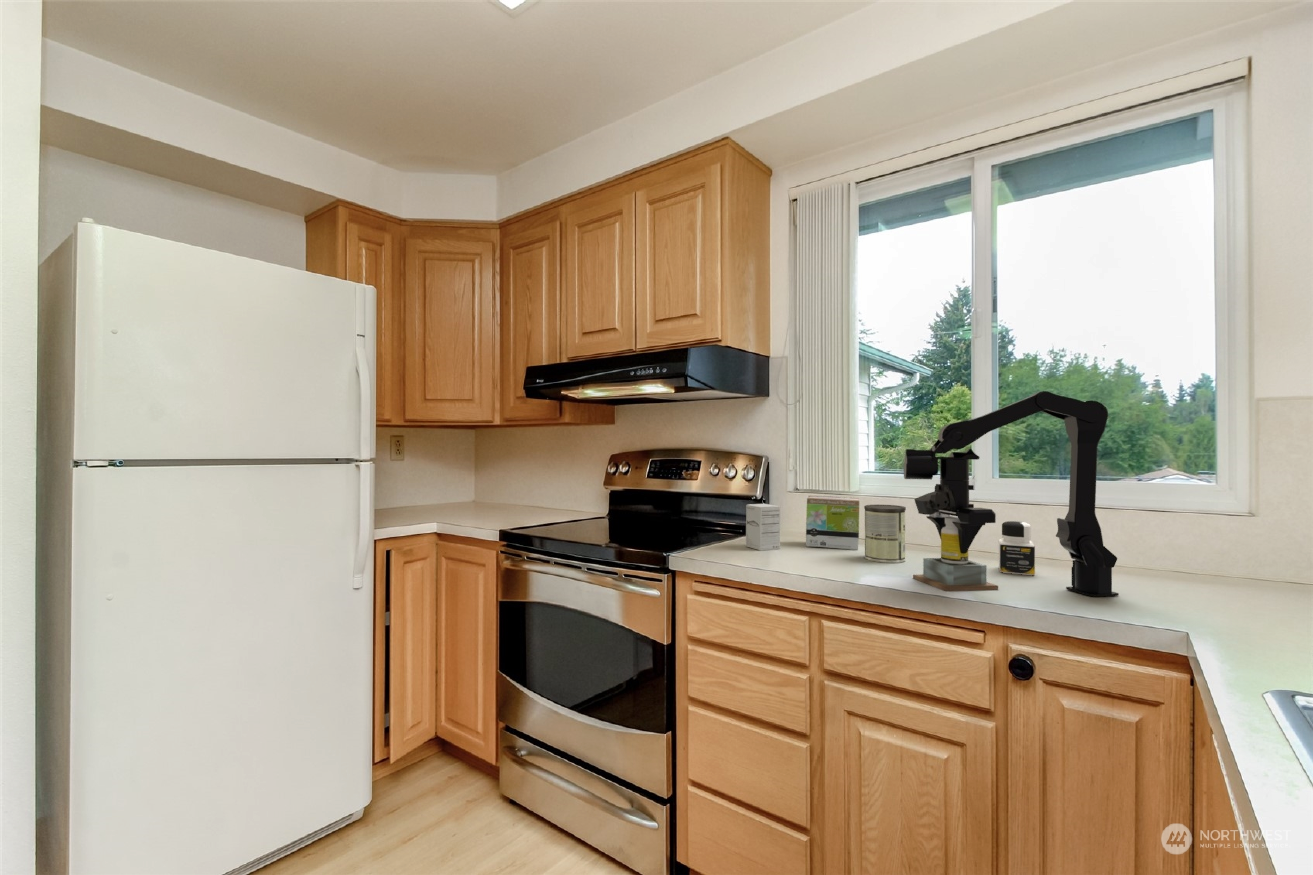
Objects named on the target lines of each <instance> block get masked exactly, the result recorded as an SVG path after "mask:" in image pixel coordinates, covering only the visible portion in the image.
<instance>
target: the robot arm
mask: <svg viewBox="0 0 1313 875" xmlns="http://www.w3.org/2000/svg"><path fill="white" fill-rule="evenodd" d="M1039 412H1042V413H1045V414H1047V415H1049V416H1050V417H1053V418H1055V419H1060V420H1062V421H1064V425H1065V426H1064V427H1065V431H1066V434H1067V437H1068V439H1069V442H1070V447H1071V448H1070V469H1069V494H1068V496H1069V498H1068V499H1069V500H1068V511H1067V513H1066V515H1065V518H1060V517H1058V518H1056V523H1057V532H1056V534H1055V537H1056V538H1058V539H1059V544H1060V545H1061V546H1062V548H1063V549H1065V550H1066V551H1067V552H1068V554H1069V556H1070V558H1071V559H1072V566H1071V586H1066V587H1065V589H1066V590H1067V591H1071V592H1075V593H1078V594H1082V595H1086V596H1089V597H1116V596H1117V597H1118V596H1119V592H1115V591H1113V584H1112V582H1113V581H1112V580H1113V573H1112V572H1113V568H1114V567H1115V565H1116V563H1117V561H1118V557H1117V556H1116V555H1115V554H1114V553H1113V552H1112V551H1110V550H1109V549H1108V548H1107V547H1106V546H1104V540H1103V534H1102V528H1101V526H1100V523H1099V520H1098V518H1097V516H1096V499H1097V498H1096V497H1097V496H1096V494H1097V473H1098V472H1097V468H1098V446H1099V443H1100V442H1101V439H1102V437H1103V435H1104V433H1105V430H1106V426H1107V422H1108V418H1109V410H1108V408H1107V407H1106V406H1105V404H1103V403H1101V402H1099V401H1097V400H1084V401H1083V400H1080V399H1076V398H1071V397H1068V396H1063V395H1059V394H1056V393H1053V392H1051V391H1048V390H1042V391H1041V390H1040V391H1038V392H1034V393H1032V394H1031V395H1030V396H1027V397H1025V398H1022V399H1020V400H1018V401H1015V402H1013V403H1010V404H1008V405H1005V406H1003V407H1000V408H998V409H995V410H993V411H991V412H988V413H986V414H984V415H981V416H979V417H974V418H970V419H965V420H961V421H956V422H951V423H948V424H947V423H946V424H945V425H944V426H942V427H941V428H940V429H939V432H938V436H937V438H938V439H937V440H936V441H935V443H934V444H933V445H931V447H930V449H912V448H905V450H904V453H905V454H904V462H903V464H902V467H903V468H902V469H903V471H902V472H903V478H904V480H932V479H933V478H934V476H937V475H938V474H939V483H936V484H935V485H934V491H932V492H927V493H925V494H923V495H921V496H918V497H916V498H914V504H915V506H916V509H917V512H918V514H920V515H927V516H926V518H927V519H928V520H929V521H931V522H932V523H933V524H934V525H935V527H936V529H937V532H938V535H939V538H940V540H941V530H942V528H943V527H946V524H945V517H958V518H959V520H960V522H952V523H953V524H954V525H955V526H956V527H957V529H958V535H959V546H960V552H961V553H962V554H965V553H967V551H968V552H969V549H970V547H971V545H972V543H974V542H973V541H974V540H975V538H976V536H977V535H978V534H979V532H980V530H981V528H982V527H984V526H986V524H996V523H997V522H996V521H997V520H996V519H997V518H996V517H997V516H996V515H997V514H996V512H995V511H994V510H993V509H991V508H983V507H975V506H974V503H970V491H974V488H975V486H974V485H973V484H970V460H980V459H981V458H980V455H978V454H977V453H975V452H974V450H973V449H972V448H967V449H966V451H951V450H960V449H964V448H966V447H968V446H969V445H971V444H973V443H974V442H976V441H978V439H980V438H982V437H983V436H984V435H986V434H988V433H990V432H992V431H995V430H997V429H999V428H1003V427H1005V426H1008V425H1009V424H1013V423H1015V422H1017V421H1020V420H1022V419H1024V418H1026V417H1029V416H1032V415H1034V414H1037V413H1039ZM950 451H951V452H950ZM948 452H950V454H949V456H936V455H937V454H939V455H941V454H947V453H948ZM939 471H940V472H939Z"/></svg>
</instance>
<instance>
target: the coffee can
mask: <svg viewBox="0 0 1313 875" xmlns="http://www.w3.org/2000/svg"><path fill="white" fill-rule="evenodd" d="M863 508H864V559H865V560H867V561H872V562H876V563H884V564H885V563H886V564H888V563H889V564H895V563H896V564H898V563H904V562H906V508H907V507H906V506H902V505H896V504H895V505H894V504H867V505H864V506H863Z"/></svg>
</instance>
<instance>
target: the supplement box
mask: <svg viewBox="0 0 1313 875" xmlns="http://www.w3.org/2000/svg"><path fill="white" fill-rule="evenodd" d="M745 507H746V508H745V509H746V510H745V511H746V513H745V516H746V517H745V518H746V519H745V520H746V521H745V547H746V548H747V547H748V548H751V549H753V550H754V549H755V550H757V551H773V550H780V549H781V506H780V505H773V504H769V503H752V504H750V503H748V504H746V506H745Z"/></svg>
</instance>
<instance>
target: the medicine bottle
mask: <svg viewBox="0 0 1313 875" xmlns="http://www.w3.org/2000/svg"><path fill="white" fill-rule="evenodd" d="M1031 539H1032V525H1031V524H1029V523H1028V522H1024V521H1018V520H1017V521H1016V520H1014V521H1012V520H1011V521H1010V520H1009V521H1005V522H1003V523H1002V524H1001V538H1000V539H998V569H999V572H1000V573H1001V572H1003V574H1011V573H1012V574H1013V575H1021V574H1022V576H1023V575H1024V576H1032V575H1034V576H1035V575H1036V545H1034V542H1033V541H1031ZM1012 574H1011V575H1012Z"/></svg>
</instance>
